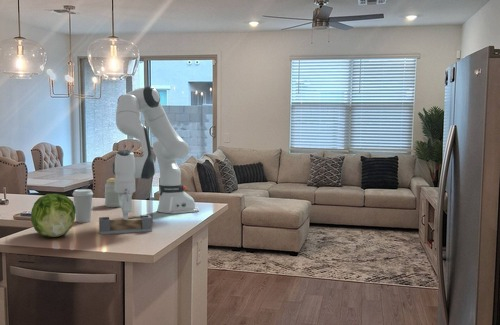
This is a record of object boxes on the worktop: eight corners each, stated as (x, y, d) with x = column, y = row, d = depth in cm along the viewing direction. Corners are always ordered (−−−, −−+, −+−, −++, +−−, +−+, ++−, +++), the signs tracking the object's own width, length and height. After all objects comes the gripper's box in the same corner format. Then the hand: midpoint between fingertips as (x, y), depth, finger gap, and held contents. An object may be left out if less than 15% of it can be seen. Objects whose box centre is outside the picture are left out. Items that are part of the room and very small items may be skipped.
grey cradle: (149, 227, 229) (149, 214, 229) (152, 231, 223) (152, 217, 222) (99, 230, 222) (99, 217, 221) (100, 234, 215) (99, 220, 215)
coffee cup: (74, 224, 235) (73, 192, 234) (71, 220, 244) (70, 189, 243) (95, 222, 240) (95, 191, 239) (91, 218, 248) (91, 188, 247)
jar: (133, 205, 289) (133, 174, 287) (116, 208, 278) (115, 176, 276) (117, 202, 296) (117, 172, 294) (99, 205, 285) (99, 174, 283)
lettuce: (28, 224, 195) (69, 195, 201) (16, 205, 213) (55, 179, 219) (54, 256, 204) (93, 227, 210) (41, 235, 222) (77, 209, 229)
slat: (145, 226, 227) (145, 218, 226) (146, 228, 224) (146, 219, 223) (103, 229, 221) (103, 220, 220) (104, 230, 218) (104, 221, 217)
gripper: (135, 190, 212) (135, 223, 213) (129, 184, 231) (130, 214, 232) (119, 191, 210) (120, 224, 211) (115, 185, 229) (116, 215, 230)
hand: (125, 219), depth 222 cm, fingers closed
